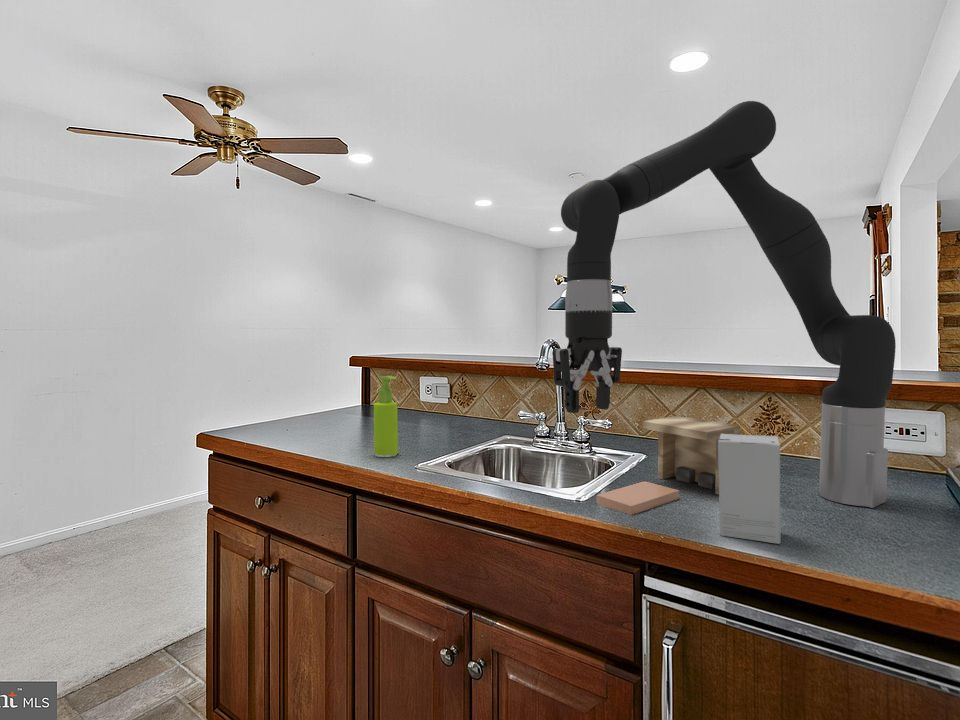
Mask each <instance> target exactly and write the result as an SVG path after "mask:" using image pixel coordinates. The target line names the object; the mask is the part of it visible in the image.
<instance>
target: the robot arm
mask: <svg viewBox="0 0 960 720" xmlns="http://www.w3.org/2000/svg"><path fill="white" fill-rule="evenodd" d="M776 121H777V120H776V117H775V114H774V113H773V112H772V110H771V109H770V108H769V107H768V106H767V105H766V104H764V103H763V102H760V101H756V100H747V101H742V102H739V103H737V104H736V105H734V106H733V105H732V107H730V108H729V109H727V110H726V111H725V112H724V113H723V114H722V115H720V116H719V117H718V118H717V119H715V120H714V121H712V122H711V123H710V124H709V125H707V126H706V127H704V128H702V129H700V130H698V131H697V132H694V133H693V134H692V135H689V136H687V137H686V138H684V139H681V140H680V141H677V142H675V143H672V144H670V145H669V146H667V147H664V148H662V149H659V150H657V151H654V152H653V153H651V154H649V155H647V156H643V157H642V158H640V159H638V160H636V161H634V162H631V163H629V164H627V165H626V166H623V167H622V168H620V169H618V170H617V171H615V172H614V173H613V174H611V175H609V176H608V177H605V178H603V179H594V180H590V181H588V182H586V183H584V184H583V185H582V186H580V187H578V188H577V189H576V190H574V191H572V192H571V193H569V194H568V196H566V197H565V199H564V200H563V202H562V205H561V209H560V216H561V217H560V218H561V220H562V223H563V225H564V226H565V227H566V228H568V230H570V231H572V232H576V236H575V242H574V244H573V245H572V246H571V248H570V249H569V251H568V252H567V259H566V289H565V290H566V291H565V303H564V304H565V305H564V307H565V308H564V309H565V310H564V311H565V313H564V315H565V318H564V319H565V320H564V321H565V323H564V324H565V328H564V329H565V331H564V333H565V334H564V335H565V338H567V339H568V344H567V347H565V348H553V350H552V365H553V379H554V381H553V382H554V385H555V386H557V387H558V386H559V387H561V388H563V389H564V407H565V410H566V412H567V413H571V414H578V413H580V412H579V411H580V390H579V387H580V385H581V382H582V379H584V378H585V377H586V375H587V373H588V372H590V374H591V375H592V376H593V377H594V379H595V383H596V385H597V386H596V387H595V389H596V392H595V393H596V394H595V395H596V401H595V402H596V403H595V405H596V408H597V409H598V410H608V409H609V408H610V404H611V387H612V386H613V384H615V383H619V382H620V379H621V371H622V370H621V369H622V368H621V367H622V353H623V349H622V348H621V347H618V346H610V345H609V342H608V339H611V338H612V336H613V290H612V258H611V257H612V251H613V248H614V244H615V239H616V235H617V229H618V225H619V220H620V215H622V214H624V213H627V212H629V211H631V210H635V209H637V208H640V207H642V206H645V205H646V204H649V203H650V202H653V201H655V200H657V199H659V198H660V197H662V196H664V195H667V194H668V193H670V192H671V191H674V190H675V189H677V188H678V187H680V186H682V185H683V184H685V183H687V182H688V181H690V180H692V179H693V178H694V177H696V176H698V175H700V174H702V173H703V172H704V171H706V170H708V169H709V170H710V172H711V173H712V174H713V176H714V177H715V178H716V180H717V181H718V182H719V184H720V186H721V187H722V188H723V190H725V192H726V193H727V195H728V196H729V197H730V198H731V200H732V201H733V203H734V205H735V206H736V207H737V209H738V211H739V212H740V213H741V215H742V217H743V219H744V220H745V222H746V223H747V225H748V226H749V228H750V230H751V231H752V233H753V234H754V236H755V238H756V241H757V242H758V244H759V246H760V248H761V249H762V252H763V253H764V255H765V256H766V258H767V260H768V262H769V263H770V265H771V267H773V269H774V271H775V272H776V274H777V275H778V278H779V279H780V281H781V283H782V285H783V286H784V288H785V290H786V292H787V294H788V295H789V297H790V299H791V300H792V302H793V304H794V306H795V307H796V309H797V311H798V313H799V315H800V318H801V319H802V322H803V325H804V327H805V330H806V331H807V334H808V336H809V340H810V341H811V343H812V345H813V348H814V350H815V351H816V353H817V355H819V356H820V358H821V359H822V360H824V361H826V362H827V363H829V364H831V365H834V366H839V370H838V371H839V373H838V377H837V379H836V380H835V382H833V383H832V384H829V385H828V386H825V387H824V388H823V389H822V395H821V421H820V424H821V425H820V427H821V428H820V456H819V458H820V459H819V482H818V483H819V484H818V485H819V488H818V490H819V493H818V494H819V496H820V497H823V498H824V499H825V500H828V501H832V502H836V503H840V504H844V505H850V506H858V507H866V508H871V509H874V508H876V507H878V506H880V505H882V504H884V503H886V502H887V490H888V489H887V486H888V465H889V464H888V462H889V461H888V460H889V459H888V457H889V450H888V449H887V448H884V444H885V424H886V423H885V420H886V419H885V418H886V417H885V416H886V400H887V397H888V395H889V393H890V391H891V389H892V386H893V385H892V384H893V377H894V368H895V359H896V349H897V347H896V345H897V344H896V335H895V332H894V330H893V328H892V326H891V324H890V323H889V321H887V320H886V319H885V318H883V317H881V316H878V315H872V314H863V315H862V314H861V315H860V314H859V315H858V314H857V315H851V314H850V313H849V312H848V311H847V310H846V308H845V307H844V305H843V304H842V302H841V300H840V298H839V297H838V295H837V293H836V291H835V288H834V286H833V281H832V253H831V245H830V243H829V241H828V238H827V237H826V235H825V233H824V231H823V230H822V227H820V224H819V223H818V221H817V219H816V218H815V216H814V214H813V213H812V212H811V210H809V209H808V208H807V207H806V206H804V204H802V203H801V202H799V201H797V200H796V199H794V198H792V197H791V196H789V195H788V194H786V193H784V192H782V191H780V190H778V188H775V187H774V186H772V185H771V184H770V183H769V182H768V181H767V180H766V179H765V178H764V177H763V175H762V173H761V172H760V171H759V169H758V168H757V166H756V165H755V163H754V161H753V159H754V158H755V157H757V156H758V155H759V154H761V153H762V152H764V151H765V149H767V148H768V146H769V145H771V143H772V141H773V140H774V138H775V136H776V131H777V122H776ZM612 369H613V373H612Z"/></svg>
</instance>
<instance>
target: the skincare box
mask: <svg viewBox="0 0 960 720" xmlns="http://www.w3.org/2000/svg"><path fill="white" fill-rule="evenodd" d="M718 463H719V495H718V498H719V499H718V503H719V504H718V505H719V506H718V507H719V510H718V511H719V534H720V536H721V537H728V538H729V537H730V538H736V539H743V540H750V541H757V542H762V543H763V542H764V543H771V544H778V545H780V544H781V541H782V539H781V538H782V536H781V535H782V533H781V443H780V439H779V436H777V435H775V436H774V435H754V434H753V435H752V434H751V435H749V434H740V435H735V434H721V435H720V438H719V441H718Z"/></svg>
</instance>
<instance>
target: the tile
mask: <svg viewBox="0 0 960 720" xmlns="http://www.w3.org/2000/svg"><path fill="white" fill-rule="evenodd" d="M678 499H680V490H679V489H675V488H671V487H668V486H663V485H659V484H656V483H653V482H649V481H641V482H638V483H637V482H636V483H634V484H630V485H626V486H624V487H619V488H616V489H613V490H610V491H605V492H603V493H599V494H596V505H597V504H598V505H599V506H600V505H601V506H604V507H606V508H608V509H613V510H615V511H618V512H620V513H624V514H626V513H627V515H629V514H630V515H629V516H633V515H635V514H639V513H641V512H644V511H647V510H650V509H653V508H656V507H658V506H662V505H665V504H668V503H670V502H674V501H676V500H678Z"/></svg>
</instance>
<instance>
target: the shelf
mask: <svg viewBox="0 0 960 720" xmlns="http://www.w3.org/2000/svg"><path fill="white" fill-rule="evenodd" d="M642 430H649V431H654V432H657V435H658V436H657V479H660V480H664V479H669V478H673V477H675V480H676V481H680V482H684V483H687V484H690V483H698V485H697V486H698V487H701V488H707V489H709V490H715V492H714V493H715V495H718V496H719V463H718V441H719V438H720V435H721V434H735V435H741V425H738V424H733V423H726V422H719V421H712V420H706V419H699V418H692V417H685V416H679V415H673V416H666V417H662V418H655V419H654V418H653V419H648V420H643V421H642Z"/></svg>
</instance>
